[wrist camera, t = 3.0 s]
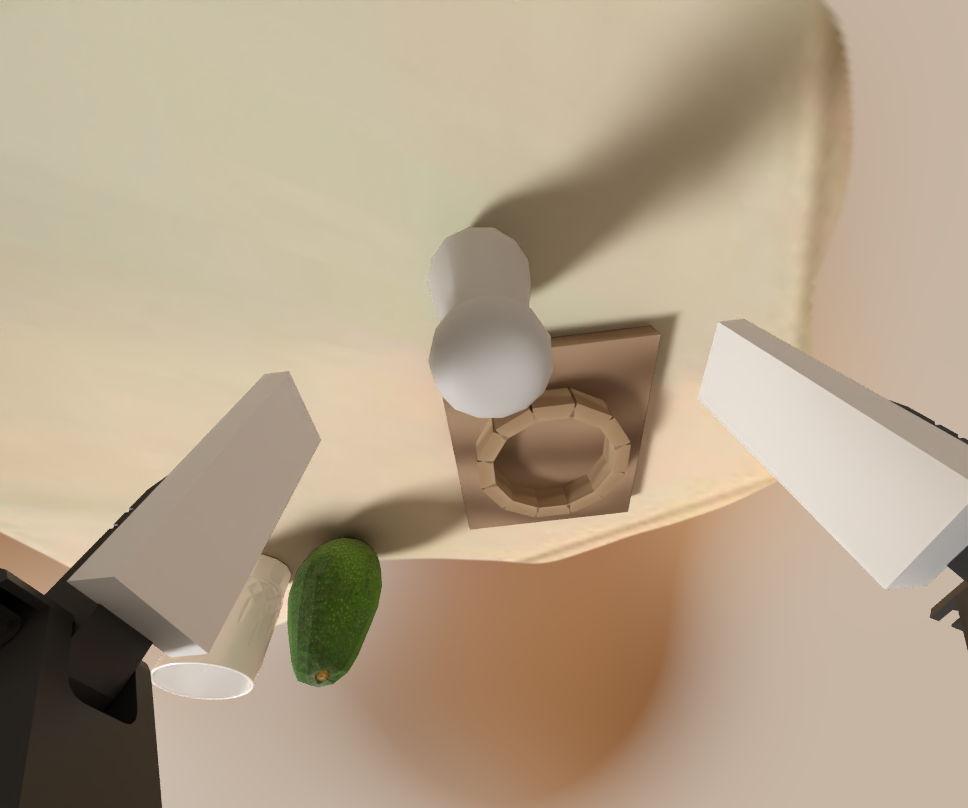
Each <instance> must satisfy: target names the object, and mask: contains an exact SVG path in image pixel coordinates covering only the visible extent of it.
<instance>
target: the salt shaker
mask: <svg viewBox="0 0 968 808" xmlns="http://www.w3.org/2000/svg"><path fill="white" fill-rule="evenodd" d="M427 284H428V287H429V291H430V294H431V297H432V301H433V304H434V307H435V309H436V312H437V314H438V317H439V319H440V322H441V323H440V324H439V325H438V327H437V328H436V330H435V333H434V337H433V342H432V347H431V351H430V356H429V365H430V369H431V372H432V375H433V378H434V381H435V384H436V387H437V390H438V393H439V394H440V395H441V396H442V397H443V398H444V399H445V400H446V401H447V402H448V403H449V404H450V405H451V406H452V407H453V408H454V409H455V410H458V411H461V412H463V413H466V414H469V415H471V416H474V417H477V418H504V417H507V416H509V415H512V414H514V413H517V412H519V411H522V410H524V409H526V408H527V407H529V406H530V405H531V404H532V403H533V402H534V401H535V400H536V399H537V398H538V397H540V396H541V395H542V394H543V393H544V392H545V389H546V387H547V384H548V382H549V379H550V377H551V374H552V372H553V361H552V349H551V337H550V335H549V333H548V332H547V330H546V329H545V327H544V326H543V325H542V323H541V322H540V320H539V319H538V318H537V316H536V315H535V313H534V312H533V311H532V309H531V308H529V301H530V290H531V279H530V270H529V260H528V259H527V257H526V256H525V254H524V253H523V251H522V250H521V248H520V247H519V245H518V244H517V243H516V241H515V240H514V239H512V238H510V237H509V236H507V235H505V234H504V233H502V232H500V231H499V230H497V229H495V228H494V227H468V228H466V229H464V230H462V231H460V232H458V233H456V234H453V235H451V236H449V237H447V238H446V239H445V240H444V241H443V243H442V244H441V246H440V247H439V249H438V250H437V252H436V253H435V254H434V256H433V257H432V259H431V264H430V270H429V275H428V280H427Z"/></svg>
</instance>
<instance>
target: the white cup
mask: <svg viewBox="0 0 968 808" xmlns="http://www.w3.org/2000/svg"><path fill="white" fill-rule="evenodd" d="M290 577H291V573H290V571H289V569H288V567H287V566H286V565H285V564H283V563H282V562H280V561H279V560H277V559H275V558H272V557H269V556H266V555H263V554H261V555H260V557H259V559H258V561H257V563H256V564H255V566H254V568H253V570H252V572H251V574H250V576H249V578H248V580H247V582H246V583H245V585H244V587H243V589H242V591H241V593H240V595H239V597H238V599H237V601H236V602H235V604H234V606H233V608H232V610H231V612H230V614H229V616H228V618H227V620H226V621H225V623H224V625H223V627H222V629H221V631H220V633H219V635H218V637H217V639H216V640H215V642H214V644H213V646H212V648H211V650H210V652H209V654H201V655H191V656H180V657H170V656H168V655H167V654H166V653H164V652H163V654H162V655H161V657H160V658H159V660H158V662H157V663H156V665H155V666H154V668H153V669H152V671H151V682H152V683H153V684H154V685H156V686H157V687H158V688H160V689H162V690H165V691H167V692H169V693H173V694H176V695H180V696H184V697H190V698H197V699H213V700H214V699H229V698H235V697H239V696H243V695H245V694H247V693H249V692H250V691H251V690H252V689H253V688H254V685H255V682H256V679H257V677H258V674H259V671H260V668H261V665H262V662H263V659H264V657H265V653H266V651H267V648H268V645H269V642H270V640H271V637H272V634H273V631H274V627H275V624H276V622H277V620H278V616H279V613H280V609H281V607H282V604H283V598H284V594H285V591H286V588H287V586H288V583H289V580H290Z"/></svg>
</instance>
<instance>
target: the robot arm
mask: <svg viewBox="0 0 968 808" xmlns="http://www.w3.org/2000/svg"><path fill="white" fill-rule="evenodd" d="M698 400H699V401H700V402H701V403H702V404H703V405H704V406H705V407H706V408H707V409H708V410H709V411H710V412H711V413H712V414H713V415H714V416H715V417H716V418H717V419H718V420H719V421H720V422H721V423H722V424H723V425H724V426H725V427H726V428H727V429H728V430H729V431H730V432H731V433H732V434H733V435H734V436H735V437H736V438H737V439H738V440H739V441H740V442H741V443H742V444H743V445H744V446H745V447H746V448H747V449H748V451H749V452H750V453H751V454H752V455H753V456H754V457H755V458H756V459H757V460H758V461H759V462H760V463H761V464H762V465H763V466H764V467H765V468H766V469H767V470H768V471H769V472H770V473H771V474H772V475H773V476H774V477H775V478H776V479H777V480H778V481H779V482H780V483H781V484H782V485H783V486H784V487H785V488H786V489H787V490H788V491H789V492H790V493H791V494H792V495H793V496H794V497H795V498H796V499H797V500H798V501H799V502H800V504H801V505H802V506H803V507H804V508H805V509H806V510H807V511H808V512H809V513H810V514H811V515H812V516H813V517H814V518H815V519H816V520H817V521H818V522H819V523H820V524H821V525H822V526H823V527H824V528H825V529H826V530H827V531H828V532H829V533H830V534H831V535H832V536H833V537H834V538H835V539H836V540H837V541H838V542H839V543H840V544H841V545H842V546H843V547H844V548H845V549H846V550H847V551H848V552H849V554H850V555H851V556H852V557H853V558H854V559H855V560H856V561H857V562H858V563H859V564H860V565H861V566H862V567H863V568H864V569H865V570H866V571H867V572H868V573H869V574H870V575H871V576H872V577H873V578H874V579H875V580H876V581H877V582H878V583H879V584H880V585H881V586H882V587H883V588H884V589H885V590H887V589H899V588H909V587H920V586H927V585H928V584H929V583H930V582H931V581H932V580H933V579H934V578H936V577H937V576H938V575H939V574H940V573H941V572H942V571H943V570H944V569H945V568H946V567H947V566H948V567H949V568H950V569H952V570H953V571H954V572H955V573H956V574H958V575H959V576H960V577H961V578H962V579H963V580H964V581H963V582H962V583H961V584H960V585H958V586H957V587H956V588H955V589H954V590H953V591H952V592H950V593H949V594H948V595H947V596H946V597H944V599H942V600H941V601H940V602H939V603H938V604H936V605H935V606H934V607H933V608H932V609H931V614H930V618H932V619H935V620H937V621H939V620H941V619H942V618H943V617H944V616H945V615H947V614H948V613H949V612H951V611H952V610H957V611H959V616H960V618H959V619H957V620H956V621H955V622H954V623H953V624H952V627H954V628H957V629H959V630H961V631H963V632H964V637H965V641H966V645H967V649H968V440H967V439H965V438H958V434H956V433H954V432H952V431H950V430H949V429H947V428H945V427H943V426H942V425H935V422H934V421H932V420H931V419H929V418H927V417H925V416H923V415H922V414H920V413H918V412H916V411H914V410H913V409H911V408H909V407H907V406H904V405H901V404H899V403H896V402H893V401H890V400H888V399H886V398H884V397H882V396H880V395H879V394H877V393H875V392H873V391H871V390H870V389H868V388H866V387H864V386H863V385H861V384H859V383H857V382H855V381H854V380H852V379H850V378H848V377H846V376H845V375H843V374H841V373H839V372H838V371H836V370H834V369H832V368H831V367H828V366H827V365H825V364H823V363H822V362H820V361H818V360H816V359H815V358H813V357H811V356H809V355H807V354H806V353H804V352H802V351H800V350H799V349H797V348H795V347H793V346H791V345H790V344H788V343H786V342H784V341H783V340H781V339H779V338H777V337H775V336H774V335H772V334H770V333H768V332H766V331H765V330H763V329H761V328H759V327H758V326H756V325H754V324H752V323H750V322H749V321H747V320H745V319H740V320H731V321H723V322H718V325H717V329H716V333H715V336H714V340H713V344H712V347H711V351H710V355H709V358H708V362H707V366H706V369H705V373H704V377H703V381H702V384H701V388H700V392H699V395H698ZM320 441H321V439H320V437H319V435H318V432H317V430H316V428H315V426H314V424H313V422H312V420H311V417H310V415H309V413H308V411H307V409H306V407H305V405H304V402H303V400H302V398H301V396H300V394H299V392H298V390H297V387H296V385H295V383H294V381H293V379H292V377H291V375H290V372H289V371H288V372H279V373H271V374H264V375H263V377H262V378H261V379H260V380H259V381H258V382H257V383H256V384H255V385H254V386H253V387H252V388H251V389H250V390H249V391H248V392H247V393H246V394H245V395H244V396H243V397H242V398H241V400H240V401H239V402H238V403H237V404H236V405H235V406H234V407H233V408H232V409H231V410H230V411H229V412H228V413H227V414H226V415H225V416H224V417H223V418H222V419H221V420H220V421H219V423H218V424H217V425H216V426H215V427H214V428H213V429H212V430H211V431H210V432H209V433H208V434H207V435H206V436H205V437H204V438H203V439H202V440H201V441H200V442H199V443H198V444H197V446H196V447H195V448H194V449H193V450H192V451H191V452H190V453H189V454H188V455H187V456H186V457H185V458H184V459H183V460H182V461H181V462H180V463H179V464H178V465H177V466H176V467H175V469H174V470H173V471H172V472H171V473H170V474H169V475H168V476H166V477H165V478H163V479H162V480H161V481H159V482H158V483H156V484H155V485H154V486H152V487H151V488H149V489H148V490H147V491H146V492H145V493H144V494H143V495H142V496H141V497H140V498H139V499H138V500H137V501H136V502H135V503H134V504H133V505H132V506H131V507H130V508H129V512H126V513H124V514H123V515H122V516H121V517H120V518H119V519H118V520H117V522H116V523H115V524H114V528H113V529H109V530H108V531H107V532H106V533H105V534H104V535H103V536H102V537H101V538H100V539H99V540H98V541H97V542H96V543H95V544H94V545H93V546H92V547H91V548H90V549H89V550H88V551H87V552H86V553H85V554H84V555H83V556H82V557H81V558H80V559H79V560H78V561H77V562H76V563H75V565H74V566H73V567H72V568H71V569H70V570H69V571H68V572H67V573H66V574H65V575H64V576H63V577H62V578H61V579H60V580H59V581H58V582H57V583H56V584H55V585H54V586H53V587H52V588H51V589H50V590H49V591H48V592H47V593H46V594H45V595H43V594H42V593H40V592H38V591H37V590H35V589H34V588H33V587H31V586H30V585H28V584H27V583H25V582H23V581H22V580H21V579H19V578H18V577H16V576H15V575H13V574H12V573H10V572H8V571H7V570H5V569H1V568H0V808H162V803H161V790H160V778H159V766H158V755H157V742H156V731H155V719H154V706H153V694H152V682H151V672H150V670H149V667H148V665H147V664H146V663H145V662H143V661H142V658H143V657H144V656H145V654H146V652H147V651H148V649H149V648H150V646H151V645H152V644H154V645H155V646H156V647H157V648H159V649H160V650H162V651H163V652H164V653H166V654H167V655H168V656H170V657H180V656H191V655H201V654H209V652H210V650H211V648H212V646H213V644H214V642H215V640H216V639H217V637H218V635H219V633H220V631H221V629H222V627H223V625H224V623H225V621H226V620H227V618H228V616H229V614H230V612H231V610H232V608H233V606H234V604H235V602H236V601H237V599H238V597H239V595H240V593H241V591H242V589H243V587H244V585H245V583H246V582H247V580H248V578H249V576H250V574H251V572H252V570H253V568H254V566H255V564H256V563H257V561H258V559H259V557H260V555H261V553H262V551H263V549H264V547H265V545H266V544H267V542H268V540H269V538H270V536H271V534H272V532H273V530H274V528H275V526H276V525H277V523H278V521H279V519H280V517H281V515H282V513H283V511H284V509H285V507H286V506H287V504H288V502H289V500H290V498H291V496H292V494H293V492H294V490H295V488H296V487H297V485H298V483H299V481H300V479H301V477H302V475H303V473H304V471H305V469H306V468H307V466H308V464H309V462H310V460H311V458H312V456H313V454H314V452H315V450H316V449H317V447H318V445H319V443H320Z"/></svg>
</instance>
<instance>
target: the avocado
mask: <svg viewBox="0 0 968 808" xmlns="http://www.w3.org/2000/svg"><path fill="white" fill-rule="evenodd" d="M381 588H382V581H381V568H380V563H379V559H378V557H377V554H376V552H375V551H374V550H373V549H372V548H371V547H370V546H369V545H368V544H366V543H364V542H362V541H361V540H358V539H350V538H338V539H335V540H331V541H328V542H325V543H324V544H322V545H320V546H319V547H317V548H315V549H314V550H313V551H312V552H311V553H310V554H309V555H308V557H307V558H306V559H305V561H304V562H303V563H302V565H301V566H300V567H299V568H298V570H297V572H296V575H295V578H294V581H293V584H292V587H291V590H290V593H289V598H288V634H289V644H290V653H291V662H292V666H293V669H294V672H295V675H296V678H297V680H298V681H300V682H303V683H306V684H308V685H311V686H316V687H321V686H325V685H330V684H333V683H335V682H336V681H337V680H339V679H340V678H341V677H342V676H344V675H345V674H346V673H347V672H348V671H349V669H350V668H351V666H352V665H353V663H354V661H355V659H356V658H357V656H358V654H359V651H360V649H361V646H362V644H363V642H364V640H365V637H366V635H367V632H368V630H369V627H370V625H371V622H372V620H373V618H374V615H375V613H376V610H377V608H378V604H379V598H380V593H381Z"/></svg>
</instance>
